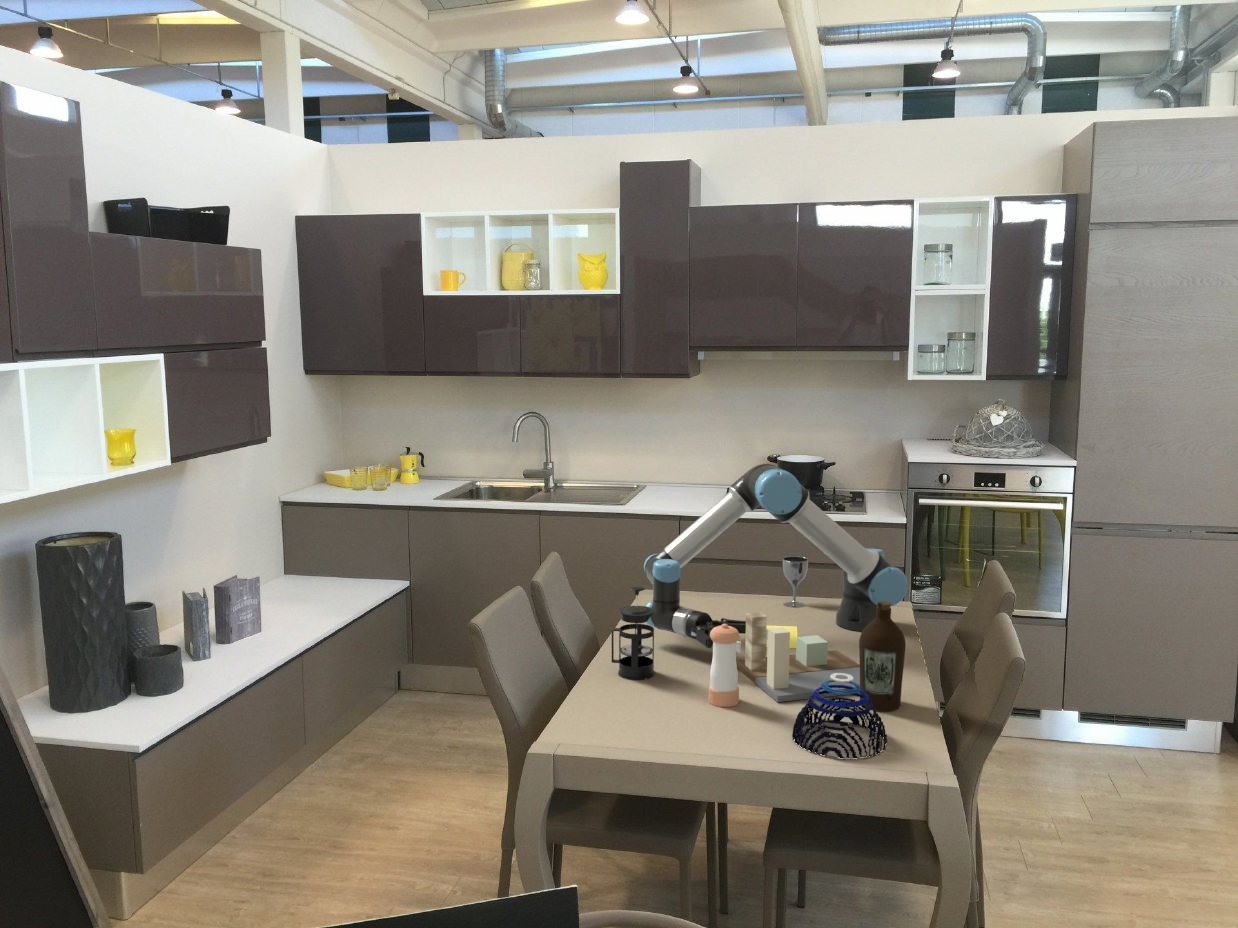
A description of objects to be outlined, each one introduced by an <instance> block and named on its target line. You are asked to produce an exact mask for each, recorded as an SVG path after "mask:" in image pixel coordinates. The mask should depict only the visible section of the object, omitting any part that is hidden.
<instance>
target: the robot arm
mask: <svg viewBox="0 0 1238 928" xmlns="http://www.w3.org/2000/svg"><path fill="white" fill-rule="evenodd" d="M758 507H762V508H763V509H764V510H766V511H767V512H768V513H769V514H770V515H771V516H772V517H774V518H775V519H776V520H777V521H778V522H780V523H781V524H784V523H789V524H790V525H791V526H793V528H795V529H796V530H797V531H798V532H799V533H800V534H802V535H803V536H804V537H805V538H806V539H807V540H808V541H810V542H811V543H812V544H813V545H814V546H815V547H816V548H818V549H819V550H820V551H821V552H822V553H823V554H825V556H827V557H828V558H829V559H830V560H832V562H834V563H835V564H836V565H837V566H839V567H840V568H841V569H842V570H843V572H842V573H843V575H842V576H843V578H842V599H841V601H840V604H839V606H838V609H837V612H836V615H835V624H836V625H837V626H838V627H840V628H842V629H846V630H849V631H856V632H862V631H863V629H864V628H865V627H866V626H867V625H868V624H869V623H871V622H872V621H873V620H874V619H875V618H876V608H877V602H878V601H888V602H890V603H891V606H890V607H893V606H896V605H897V604H899V603H900V602H901V601H902V600H903V599H904V598H905V597H906V594H907V591H908V579H907V576H906V574H905V573H904V572H903V571H902V570H901V569H900V568H898V567H896V566H895V565H893V564H892V563H891V562H889V561H888V560H887V559H886V556H885V552H884V550H883V549H880V548H879V549H878V548H866V547H864V546H863V545H862V544H861V543H860V542H859V541H857V540H856V539H855V538H854V537H853V536H852V535H850V534H849V532H847V531H846V530H845V529H843V527H841V525H839V524H838V523H837V522H836V521H835V520H833V519H832V517H830V515H828V514H827V513H825V512H824V511H823V510H822V509H821V508H820V507H818V505H816V504H815V503H814V502H813V501H812V500H811V499H810V492H809V490H808V489H807V488H805V487H804V486H803V485H802V484H801V483H800V482H799V480H798V479H797V477H796V476H795V475H793V474H792V473H791V472H789V471H787V470H784V469H782V468H779V467H778V466H776V465H774V464H771V463H760V464H757V465H755V466H753V467H752V468H750V469H749V470H747V471H746V472H745V473H744V474H743V475H741V476H740V477H739V478H738V479H737V480H736V481H735V482H734V483H732V484H731V485H730V486H729V490H728V492H727V493H726V494H725V495H724V496H723V497H721V498H720V499H719V500H718V501H717V502H715V504H713V506H711V507H709V508H708V510H707V511H706V512H705V513H703V514H702V515H701V516H700V517H698V518H697V519H696V520H695V521H694V522H692V524H691V525H689V526H688V527H687V528H686V529H685V530H684V531H682V532H681V533H680V534H679V535H678V536H677V537H676V538H675V539H673V541H671V542H670V543H669V544H668V545H667V546H665V547H664V548H663V549H662V550H661V551H659V552H658V553H654V554H650V555H649V556H647V558H646V559H645V561H644V563H643V570H644V574H645V576H646V578H647V579H648V580H649V581H650V583H651V584H652V600H650V601H648V602H647V604H646V605H645V606H646V607H650V608H652V609H654V613H653V614H652V615H651V616H650V618H649V620H648V621H647V622H646V625H649V626H652V627H653V628H656V629H658V630H661V631H666V632H669V633H670V632H671V633H674V634H677V635H680V636H682V637H683V638H686V637H687V638H689V639H693V640H696V641H698V642H699V643H700V644H702V645H703V646H704V647H706V648H707V649H711V648H712V649H713V641H712V640H711V638H710V632H711V630H712V629H713V628H715V627H717V626H722V624H727V625H728V626H731V627H733V628H736V629H737V630H738V632H739V635H741V634H743V635H744V634H745V635H746V620H737V619H736V620H735V619H729V618H725V617H723V618H720V621H719V620H717V619H715V620H714V619H712V617H711V615H710V614H709V613H707V612H704V611H700V610H697V609H693V608H690V607H686V606H685V607H684V606H681V603H680V602H681V597H680V596H681V575H682V572H681V569H682V568H683V567H684V566H685V565H687V563H689V562H690V561H691V560H692V559H693V558H695V557H696V556H697V555H698V554H699V553H700V552H701V551H703V550H704V549H705V548H706V547H707V546H709V545H710V544H711V543H712V542H713V541H714V540H716V538H718V537H719V536H720V535H721V534H723V532H725V531H726V530H727V529H728V528H730V527H731V526H732V525H733V524H734V523H735V522H736V521H737V520H738V519H740V518H741V517H742V516H743V515H745V513H753V511H754V510H756V509H757V508H758ZM768 629H769V628H767V629H766V641H768ZM736 653H739V654H740V653H742V641H739V640H738V641H737V642H736Z"/></svg>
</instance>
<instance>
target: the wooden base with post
mask: <svg viewBox="0 0 1238 928" xmlns="http://www.w3.org/2000/svg"><path fill="white" fill-rule="evenodd" d="M767 617H768V616H767V615H765V614H764V613H763V612H761V611H759V612H757V611H756V612H746V613H745V621H746V634H745V645H744V647H745V649H744V651H745V652H744V653H745V654H744V655H745V656H744V658H743V659H742V658H741V659H736V664H737V670H739V671H740V672H741V673H742V674H744V675H745V676H746V678H747V677H748V679H750V681H752V682H753V683H755V678H757V677H766V676H767V639H766V629H768V627H767V622H768V621H767V620H768V619H767ZM853 667H860V663H859V662H856V661H855V660H853V659H851V658H850V657H848V656H847V655H846V654H844V653H842V652H841V651H840V650H838V649H837V650H835V649H834V650H828V655H827V664H825V665H816V666H805V665H804V664H802V663H801V662H799V661H798V660H797V659H796V653H794V654H789V674H795V673H805V672H814V671H824V670H834V669H843V668H853ZM755 684H756V683H755Z"/></svg>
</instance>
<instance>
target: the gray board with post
mask: <svg viewBox="0 0 1238 928" xmlns="http://www.w3.org/2000/svg"><path fill="white" fill-rule="evenodd" d="M767 629H768V640H767V646H766V657H767V676H766V677H757V678H755V684H756V685H757V686H758V687H759V688H760V689H761V690H763V692H765V693H766V694H767V695H769V697H771V698H772V699H773V700H774V701H775V702H777V703H781V702H790V701H791V702H792V701H800V700H808V699H809V697H811V695H812V694H813V693H814V691H815V690H816V689H817V688H819V687H822V686H821V684H822V683H824V682H825V681H827V680H831V679H830V676H831V674H833V673H844V674H848V675H852V676H853V680H852V682H855V683H856V684H859V686H860V667H853V668H843V669H834V670H824V671H814V672H805V673H795V674H789V655H790V650H791V649H790V647H791V646H790V645H791V631H790V630H787V628H785V627H771V628H767ZM835 678H838V679H848V678H847V677H845V676H836V677H835ZM835 684H836V685H846V686H851V687H855V685H853V684H851V683H847V682H837V681H836V682H829V683H828V684H827V685H835ZM855 688H856V687H855ZM832 689H836V690H847V691H848V690H850V689H846V688H832ZM822 690H824V689H822ZM822 690H819V691H820V692H821V691H822ZM825 691H826V690H825ZM857 694H860V692H858V693H857ZM819 695H820V696H821V697H823V698H826V697H835V696H836V697H837V696H839V695H838V694H835V693H824V694H819ZM840 696H843V695H842V694H841V695H840ZM812 699H815V698H814V697H813V698H812Z"/></svg>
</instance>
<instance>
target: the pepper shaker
mask: <svg viewBox="0 0 1238 928" xmlns="http://www.w3.org/2000/svg"><path fill="white" fill-rule="evenodd" d="M710 638H711V640H712V641H713V646H712V661H711V666H710V670H709V676H710V677H709V685H708V695H707V696H708V698H707V701H708V702H709V704H711V705H712V706H715V707H720V708H729V707H734V706H737V705H738V704H739V701H740V687H739V686H738V685H739V684H738V682H739V680H738V679H739V674H738V673H739V672H738V668H737V664H736V660H737V652H736V642H737V641H739V640H740V638H741V637H740V633H739V632H738V630H737V629H736V628H733V627H731V626H728V625H727V624H722V626H717V627H715V628H713V629H712V630H711V632H710Z"/></svg>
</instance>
